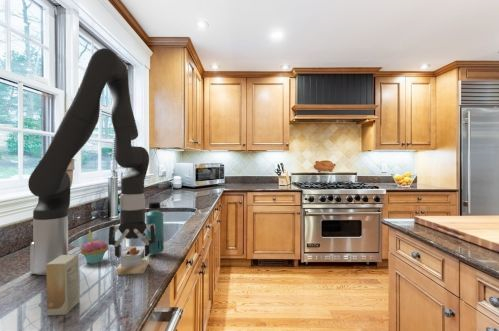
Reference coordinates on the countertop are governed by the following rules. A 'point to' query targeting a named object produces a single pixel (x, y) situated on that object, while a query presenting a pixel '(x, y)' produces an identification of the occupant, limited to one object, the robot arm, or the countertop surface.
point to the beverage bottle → (156, 219)
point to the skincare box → (62, 284)
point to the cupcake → (94, 250)
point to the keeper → (133, 268)
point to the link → (132, 258)
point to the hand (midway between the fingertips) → (132, 256)
